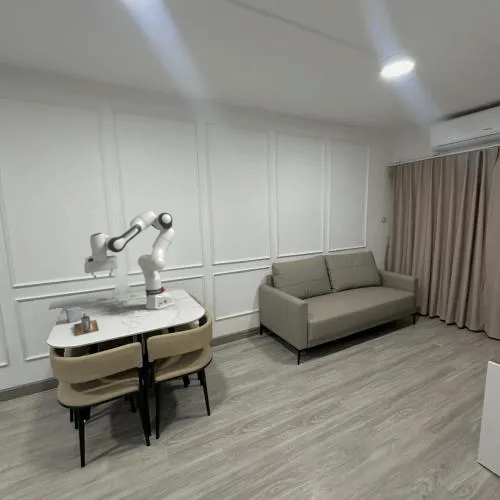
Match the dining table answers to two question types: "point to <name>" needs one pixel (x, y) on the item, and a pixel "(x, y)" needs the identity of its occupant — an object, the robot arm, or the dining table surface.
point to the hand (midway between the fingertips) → (103, 277)
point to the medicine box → (73, 314)
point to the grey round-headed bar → (85, 318)
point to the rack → (86, 327)
